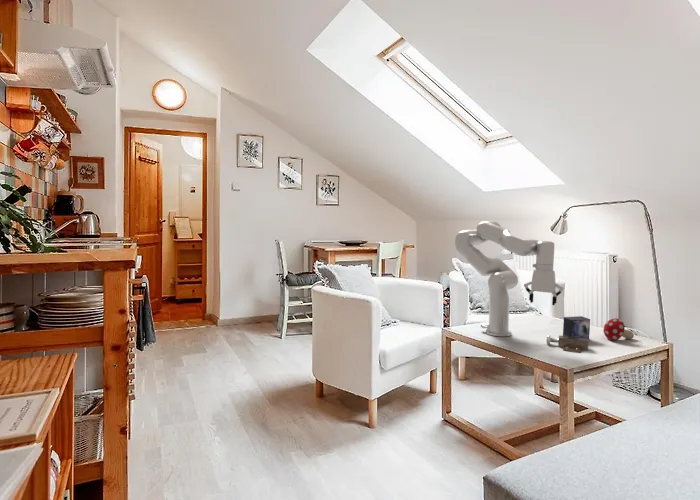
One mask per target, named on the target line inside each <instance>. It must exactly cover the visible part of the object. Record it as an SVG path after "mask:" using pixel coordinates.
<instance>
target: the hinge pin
mask: <svg viewBox="0 0 700 500" xmlns="http://www.w3.org/2000/svg"><path fill="white" fill-rule="evenodd" d="M558 339H559V338H555V337H551V335H548V334H547V335H546V344H547V345H550V344H551V343H554V344H558Z"/></svg>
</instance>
